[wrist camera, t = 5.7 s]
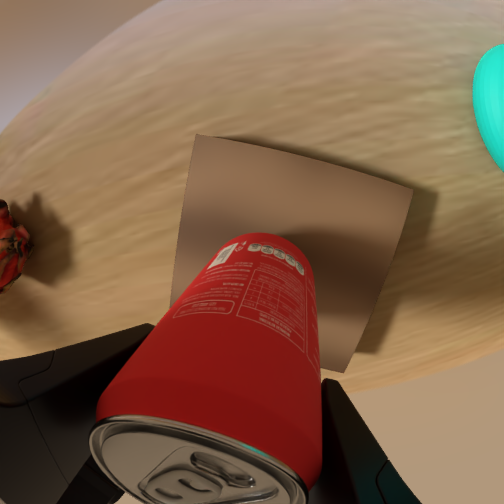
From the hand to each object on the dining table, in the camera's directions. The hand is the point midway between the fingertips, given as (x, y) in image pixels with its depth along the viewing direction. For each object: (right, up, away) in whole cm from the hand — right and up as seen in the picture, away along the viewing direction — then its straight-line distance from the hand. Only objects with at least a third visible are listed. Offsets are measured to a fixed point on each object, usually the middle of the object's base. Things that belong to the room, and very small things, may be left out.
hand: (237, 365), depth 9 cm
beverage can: (+1, +2, +8) cm, 8 cm away
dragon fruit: (-24, +5, +16) cm, 29 cm away
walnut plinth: (+2, +3, +11) cm, 11 cm away
